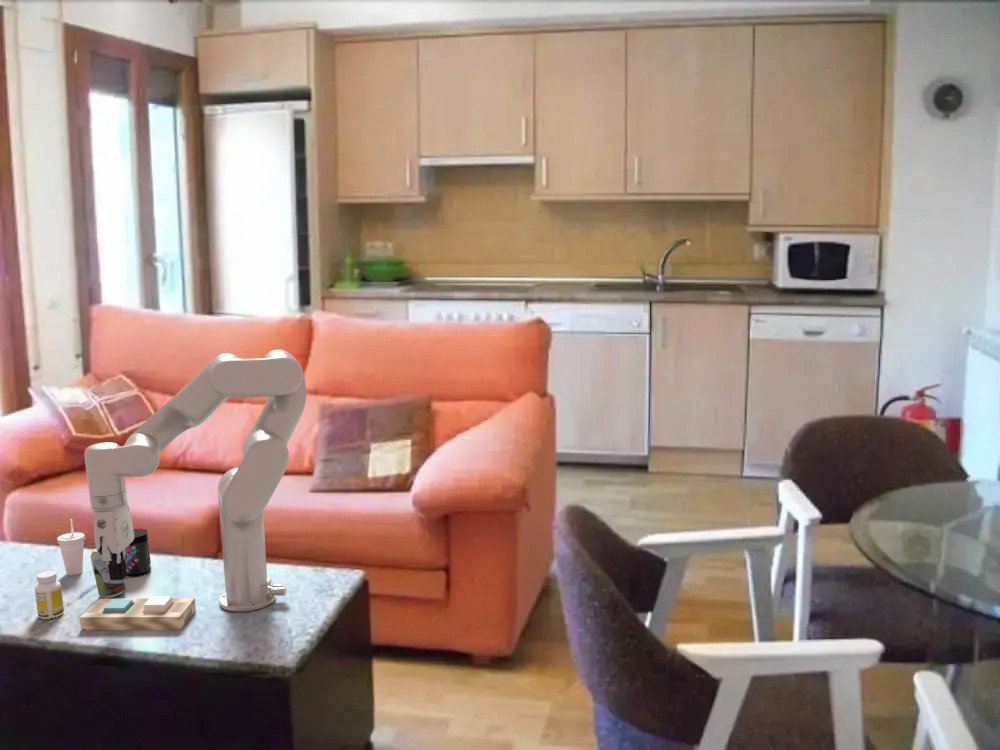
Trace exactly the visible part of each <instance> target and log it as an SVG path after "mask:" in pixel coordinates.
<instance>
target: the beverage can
mask: <svg viewBox="0 0 1000 750" xmlns="http://www.w3.org/2000/svg"><path fill="white" fill-rule="evenodd" d="M90 561H91V566H92V570H93V574H94V579H95V583H96V588H97V593H98V596H100V597H102V598H103V599H111V598H114V597H117V596H120V595H122V594H123V592H124V591H125V590H126V583H125V579H124V580H110V575H109V567H108V564H107V561H102V554H98V553H97V550H96V547H95V548H93V549H92V550H91V555H90Z"/></svg>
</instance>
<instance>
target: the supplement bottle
mask: <svg viewBox="0 0 1000 750" xmlns="http://www.w3.org/2000/svg"><path fill="white" fill-rule="evenodd" d="M36 581H37V584H36V585H35V587H34V593H35V602H36V610H37V616H38V618H39V619H40V618H41V620H51V619H50V618H53V619H55V617H56V618H58V616H59V617H61V616H63V614H64V613H65V610H64V609H65V608H64V600H63V592H62V585H61V584H62V583H61V582H60V581H59V580H57V572H56V571H55V570H47V571H43V572H40V573H38V574H37V575H36ZM60 615H61V616H60Z"/></svg>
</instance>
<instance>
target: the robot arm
mask: <svg viewBox="0 0 1000 750" xmlns="http://www.w3.org/2000/svg"><path fill="white" fill-rule="evenodd" d="M305 379H306V378H305V375H304V370H303V368H302V365H301V363H300V362H299V361H298V360H297V358H296V357H295V356H294V355H293V354H291V353H290V352H288V351H287V350H284V349H274V350H271V351H269V352H268V353H267V354H266V355H264V357H262V358H250V359H249V358H240V357H239V356H238V355H235V354H234V353H228V352H227V353H220V354H219V355H216V356H215V357H214V358H212V359H211V360H210V361H209V362H208V363H207V364H206V365H205V366H204V367H203V368H202V369H201V370H200V371H199V372H197V373H196V375H194V377H192V379H191V380H190V381H189V382H187V384H186V385H184V386H183V387H182V388H181V389H180V390H179V391H178V392H177V393H176V394H175V395H174V396H173V397H171V398H170V399H169V400H168V401H166V403H164V404H163V405H162V406H161V407H160V408H158V410H156V411H155V412H153V414H151V415H150V416H149V417H148V418H147V419H146V420H145V421H144V422H143V423H142V424H141V425H139V427H138V428H137V429H136V430H134V431H133V432H132V433H131V434H130V436H129V437H127V440H126V441H125V442H124V445H122V446H120V445H119V444H118V443H117V442H111V441H110V442H109V441H108V442H107V441H105V442H99V443H98V442H97V443H94V444H92V445H89V446H87V447H86V448H85V450H84V453H83V454H84V455H83V456H84V457H83V458H84V463H85V471H86V480H87V485H88V486H87V487H88V494H89V495H88V496H89V502H90V509H91V510H92V511H93V512H92V513H93V534H94V544H95V548H96V550H97V553H98V554H102V561H107V564H108V567H109V575H110V580H124V581H125V579H126V578H127V577H128V576H127V571H126V563H125V558H126V555H125V548H126V547H127V546H128V545H129V544H130V543H131V542H132V541H133V540H134V530H133V529H134V525H133V524H134V523H133V519H132V515H131V509H130V506H129V502H128V493H127V486H126V477H145V476H149V475H151V474H152V473H154V472H155V471H156V470H157V469H158V466H159V464H160V454H161V452H163V450H164V449H166V448H167V447H168V446H169V445H170V443H172V442H174V440H175V439H176V438H177V437H179V436H180V435H181V434H182V433H184V432H185V431H188V430H190V429H193V428H196V427H198V426H201V425H202V424H203V423H205V422H206V421H207V420H208V418H210V417H211V416H212V415H213V414H214V413H215V412H216V410H217V409H218V408H220V407H221V406H222V405H223V404H224V403H225V402H226V401H227V400H228V399H241V398H242V399H243V398H244V399H247V398H250V399H251V398H261V397H267V399H266V402H265V403H264V406H263V408H262V410H261V412H260V414H259V416H258V417H257V419H256V421H255V422H254V424H253V426H252V427H251V430H250V432H249V433H248V434H247V436H246V438H244V441H243V443H242V447H241V449H242V450H241V452H242V457H243V458H242V460H241V462H240V464H239V465H238V467H234V468H232V469H229V470H227V471H226V472H225V473H224V474H223V475H222V476H221V478H220V479H219V481H218V484H217V502H218V510H219V518H220V519H219V520H220V532H221V534H220V535H221V545H222V549H221V550H222V558H223V560H222V561H223V572H224V573H223V575H224V587H225V589H224V590H225V593H223V594H222V595H221V596H220V597H219V599H218V600H219V601H218V602H219V606H220V607H221V608H222V609H223V610H226V611H229V612H237V613H239V612H251V611H256V610H259V609H263V608H266V607H268V606H269V605H271V604H272V603H273V602H274V601H275V599H276V596H282V597H283V596H284V597H285V596H286V594H287V588H286V586H285V587H284V583H283V584H282V583H279V584H278V583H277V584H274V583H272V578H271V577H268V570H267V555H266V553H267V552H266V540H265V523H264V510H265V509H266V507H267V506H268V504H269V502H270V501H271V499H272V497H273V495H274V493H275V491H276V489H277V487H278V485H279V483H280V482H281V480H282V478H283V477H284V474H285V472H286V470H287V467H288V465H289V461H290V460H289V459H290V454H289V449H288V444H289V441H291V440H290V439H291V437H292V436H293V434H294V432H295V430H296V428H297V426H298V423H299V421H300V420H301V417H302V415H303V413H304V409H305V408H306V407H305V406H306V401H307V383H306V380H305Z"/></svg>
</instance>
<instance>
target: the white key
mask: <svg viewBox="0 0 1000 750" xmlns="http://www.w3.org/2000/svg"><path fill="white" fill-rule="evenodd" d="M172 598H173V596H167V595H165V596H164V595H163V596H161V595H158V596H156V595H154V596H153V595H151V596H150V599H149V600H148V601H147V602H146V603H145V604H144V613H163V612H167V611H168V610H169V608H170V607H171V606H172Z"/></svg>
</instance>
